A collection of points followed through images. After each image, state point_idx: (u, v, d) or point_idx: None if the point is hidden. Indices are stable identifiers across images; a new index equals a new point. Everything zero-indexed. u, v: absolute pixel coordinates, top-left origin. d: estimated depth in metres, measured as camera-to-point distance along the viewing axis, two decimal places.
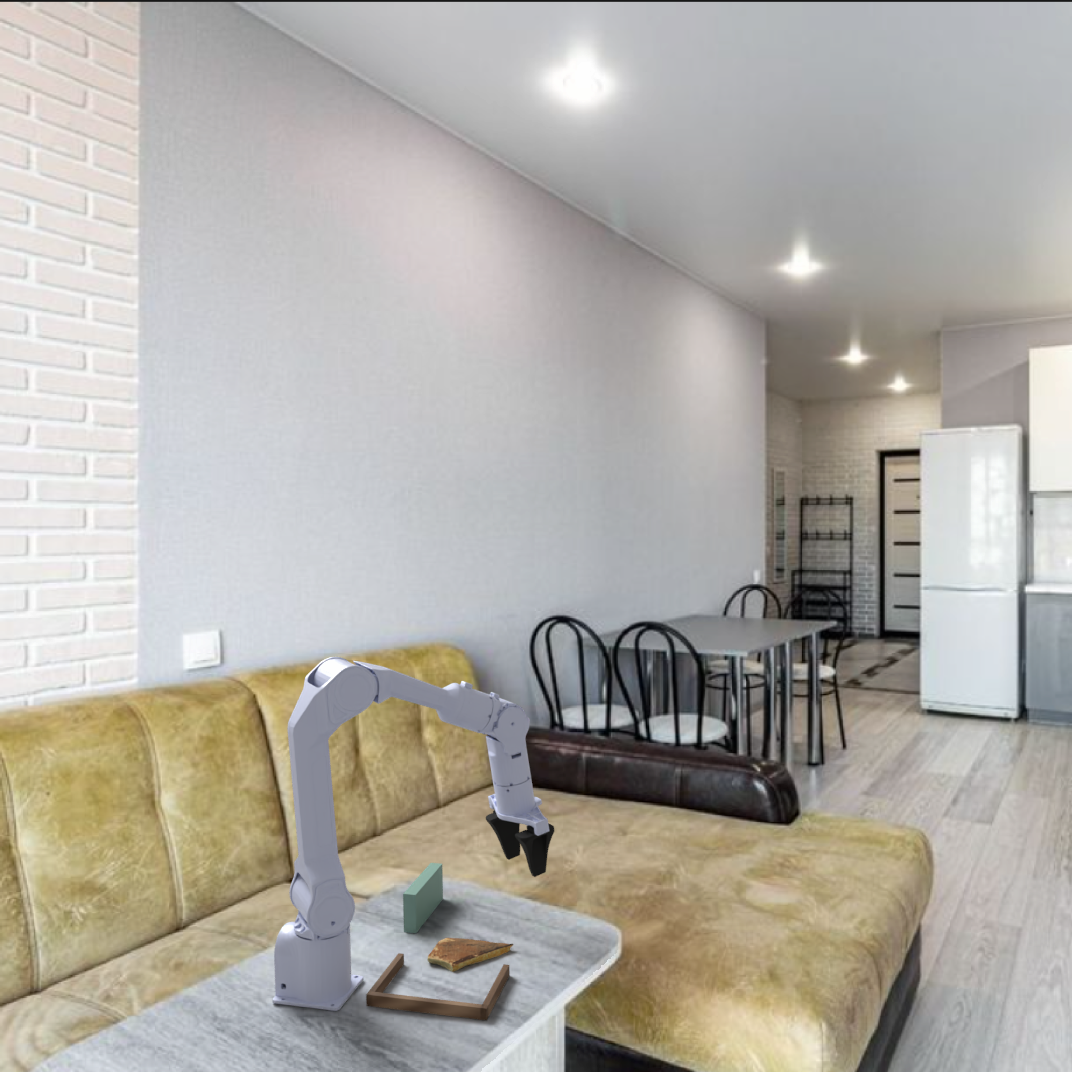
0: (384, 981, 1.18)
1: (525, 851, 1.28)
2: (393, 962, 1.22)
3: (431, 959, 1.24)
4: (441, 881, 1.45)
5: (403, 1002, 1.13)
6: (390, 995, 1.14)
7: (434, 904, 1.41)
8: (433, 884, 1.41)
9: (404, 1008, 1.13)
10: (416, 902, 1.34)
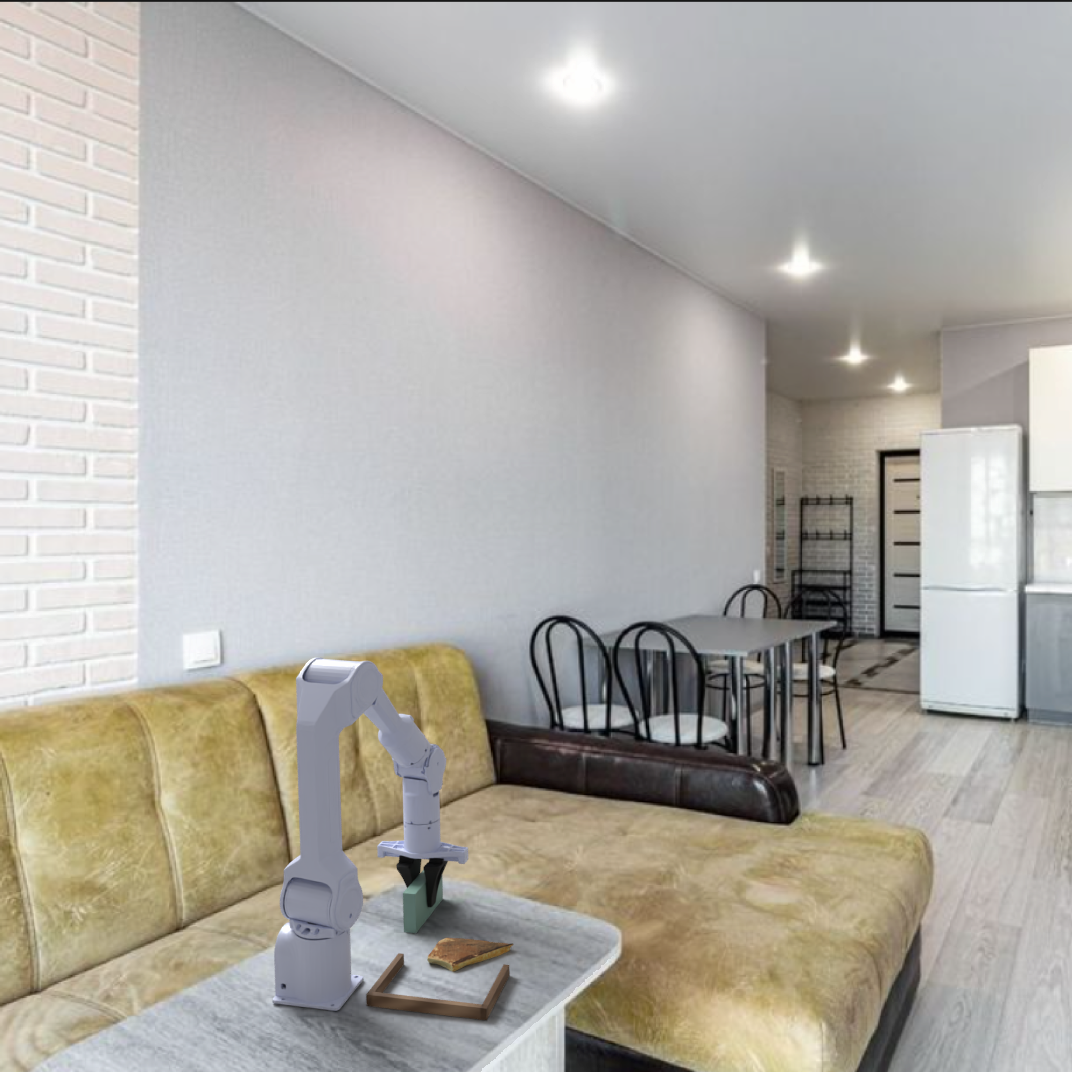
0: (384, 981, 1.18)
1: (429, 882, 1.37)
2: (393, 962, 1.22)
3: (431, 959, 1.24)
4: (441, 880, 1.45)
5: (403, 1002, 1.13)
6: (390, 995, 1.14)
7: None
8: None
9: (404, 1008, 1.13)
10: (415, 901, 1.34)
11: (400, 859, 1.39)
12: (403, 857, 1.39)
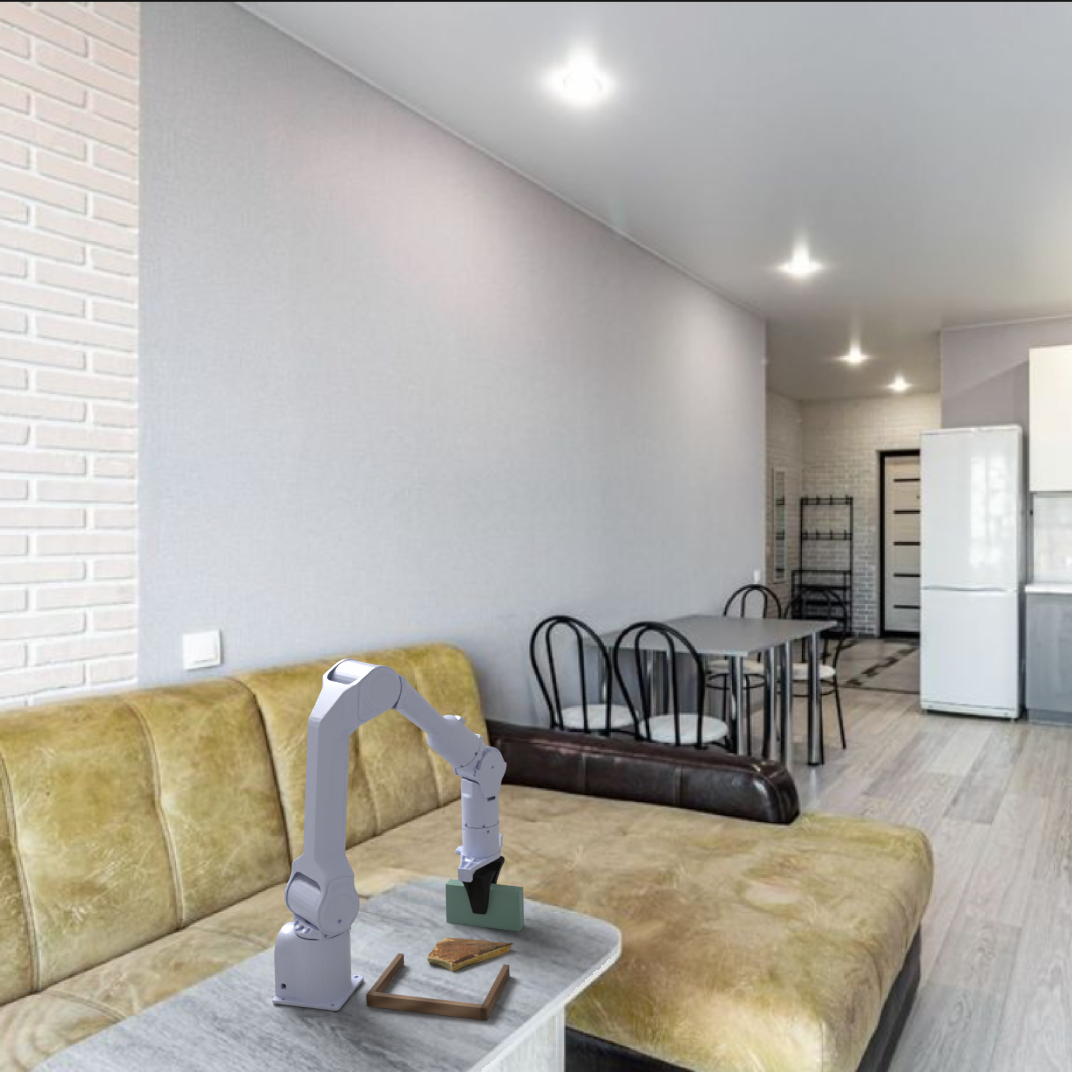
0: (384, 981, 1.18)
1: (497, 878, 1.37)
2: (393, 962, 1.22)
3: (431, 959, 1.24)
4: None
5: (403, 1002, 1.13)
6: (390, 995, 1.14)
7: None
8: None
9: (404, 1008, 1.13)
10: (522, 894, 1.35)
11: (479, 872, 1.33)
12: (479, 868, 1.33)
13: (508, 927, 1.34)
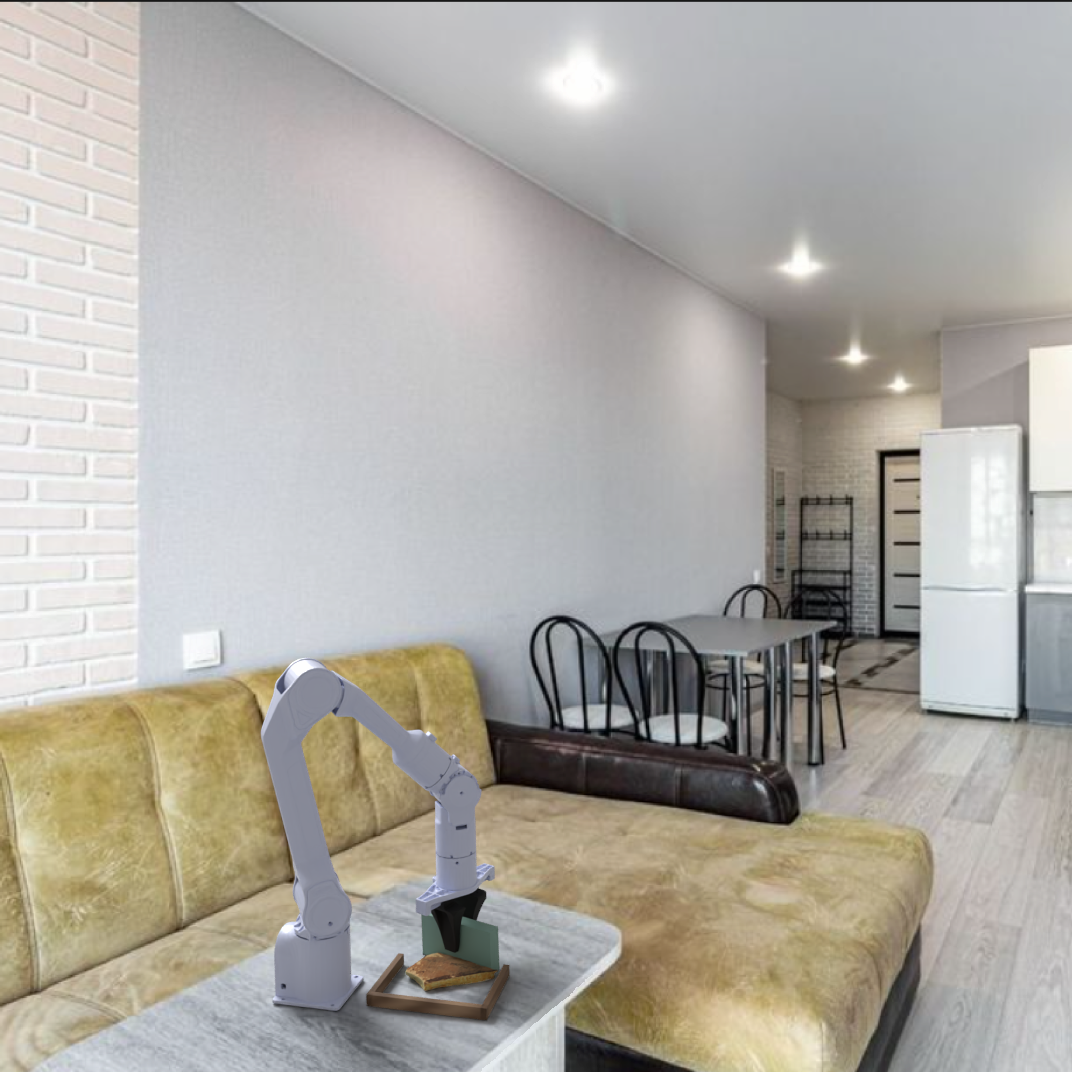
0: (384, 981, 1.18)
1: (476, 914, 1.25)
2: (393, 962, 1.22)
3: (408, 973, 1.20)
4: None
5: (403, 1002, 1.13)
6: (390, 995, 1.14)
7: None
8: None
9: (404, 1008, 1.13)
10: (497, 934, 1.23)
11: (444, 906, 1.21)
12: (447, 902, 1.22)
13: None
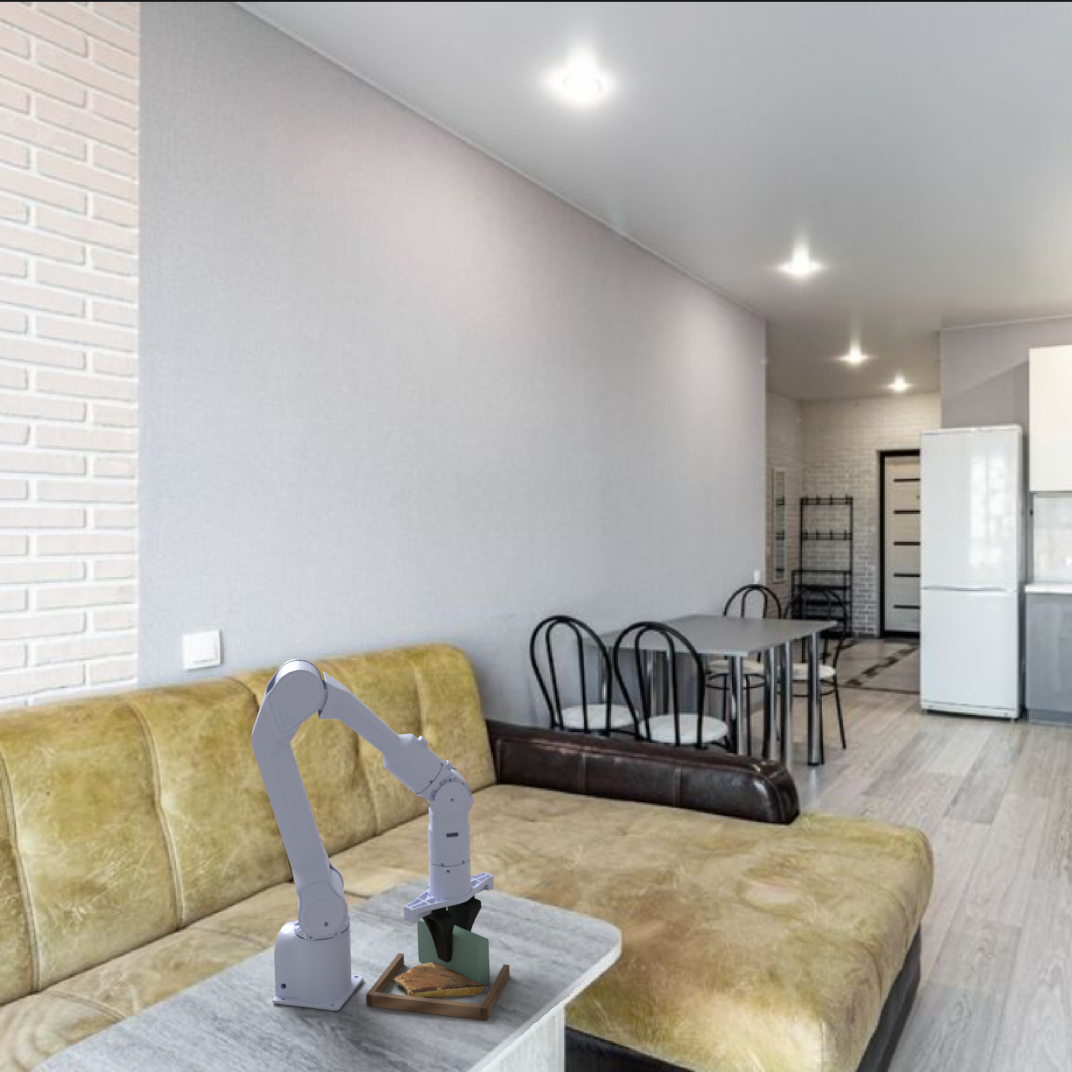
0: (384, 981, 1.18)
1: (469, 924, 1.22)
2: (393, 962, 1.22)
3: (396, 981, 1.18)
4: None
5: (403, 1002, 1.13)
6: (390, 995, 1.14)
7: None
8: None
9: (404, 1008, 1.13)
10: (487, 947, 1.19)
11: (435, 914, 1.19)
12: (438, 910, 1.19)
13: None
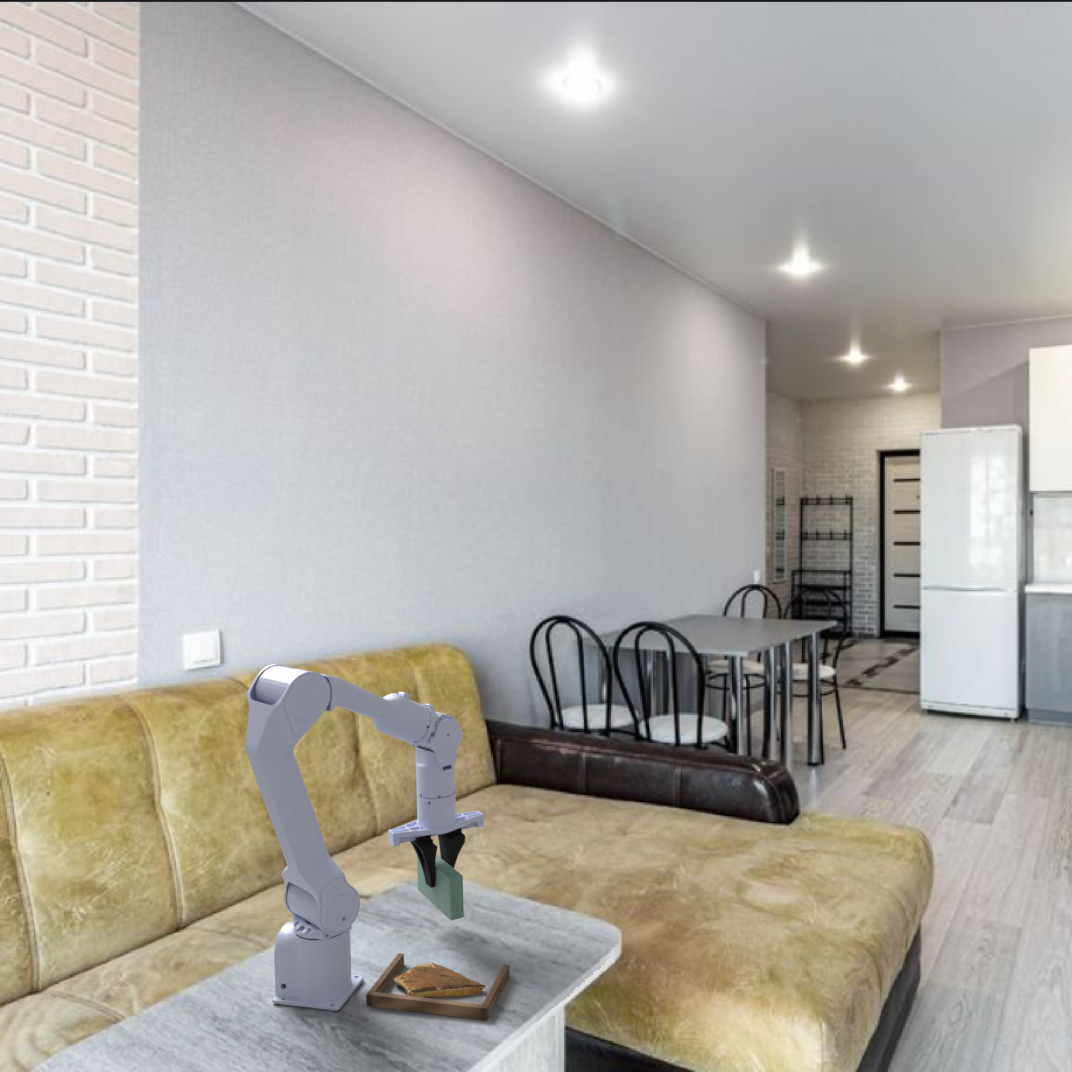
0: (384, 981, 1.18)
1: (453, 855, 1.30)
2: (393, 962, 1.22)
3: (396, 981, 1.18)
4: None
5: (403, 1002, 1.13)
6: (390, 995, 1.14)
7: None
8: None
9: (404, 1008, 1.13)
10: (462, 883, 1.26)
11: (418, 841, 1.29)
12: (421, 838, 1.29)
13: (445, 912, 1.27)
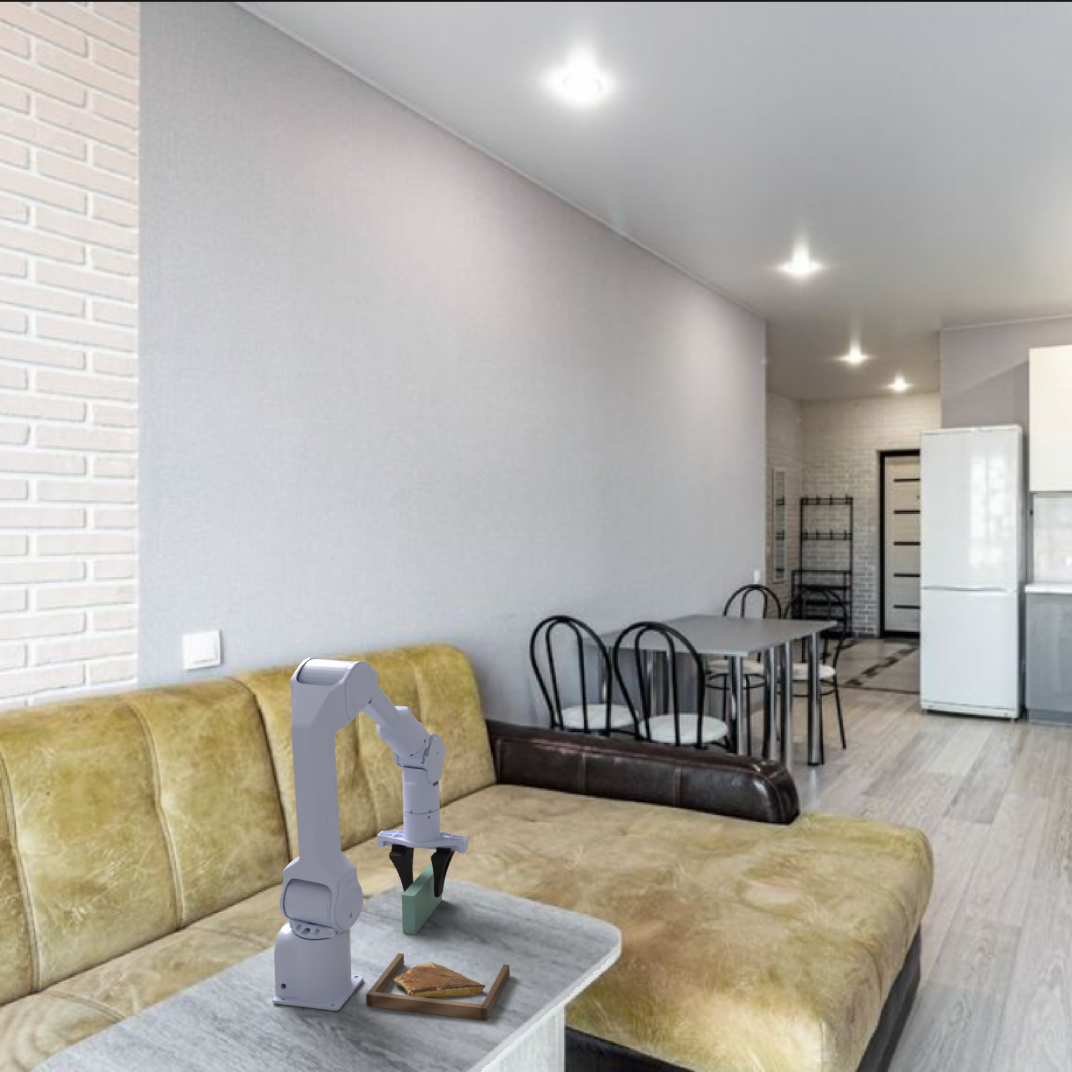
0: (384, 981, 1.18)
1: (436, 872, 1.37)
2: (393, 962, 1.22)
3: (396, 981, 1.18)
4: None
5: (403, 1002, 1.13)
6: (390, 995, 1.14)
7: (433, 905, 1.41)
8: (432, 885, 1.40)
9: (404, 1008, 1.13)
10: (414, 903, 1.33)
11: (393, 848, 1.40)
12: (403, 846, 1.39)
13: None
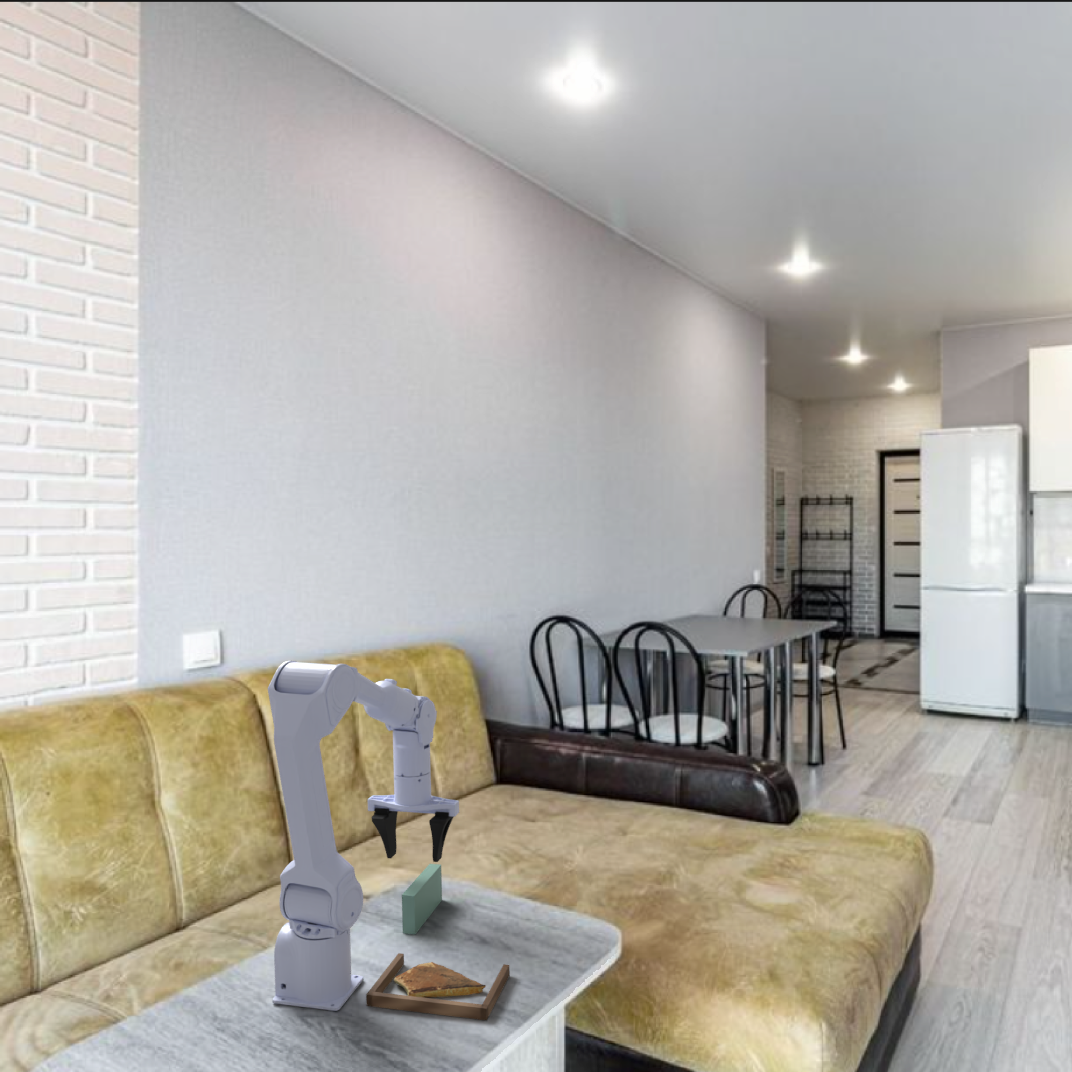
0: (384, 981, 1.18)
1: (435, 836, 1.36)
2: (393, 962, 1.22)
3: (396, 981, 1.18)
4: (440, 882, 1.44)
5: (403, 1002, 1.13)
6: (390, 995, 1.14)
7: (433, 905, 1.41)
8: (432, 885, 1.40)
9: (404, 1008, 1.13)
10: (414, 903, 1.33)
11: (375, 811, 1.39)
12: (393, 810, 1.38)
13: None
